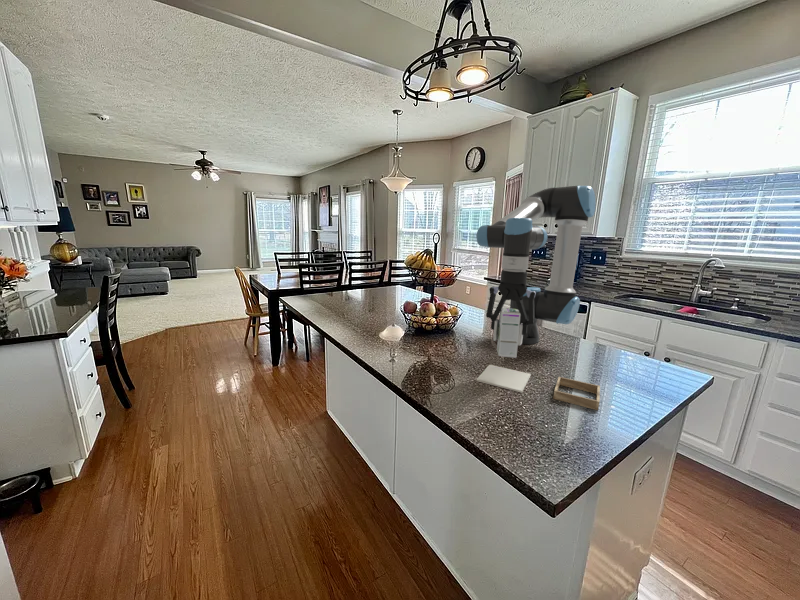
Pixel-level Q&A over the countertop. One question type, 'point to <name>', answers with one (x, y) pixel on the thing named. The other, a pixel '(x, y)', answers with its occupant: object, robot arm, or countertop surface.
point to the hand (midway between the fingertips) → (507, 341)
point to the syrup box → (508, 332)
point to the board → (504, 378)
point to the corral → (574, 398)
